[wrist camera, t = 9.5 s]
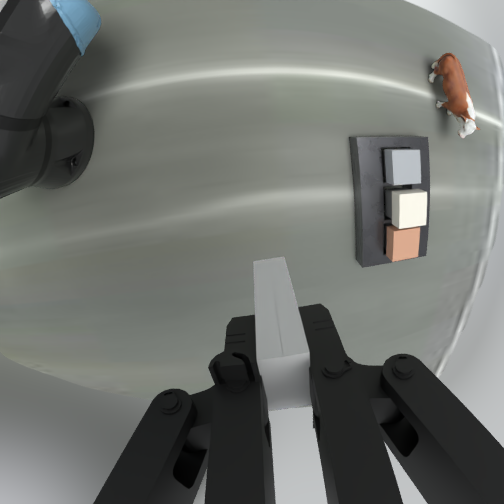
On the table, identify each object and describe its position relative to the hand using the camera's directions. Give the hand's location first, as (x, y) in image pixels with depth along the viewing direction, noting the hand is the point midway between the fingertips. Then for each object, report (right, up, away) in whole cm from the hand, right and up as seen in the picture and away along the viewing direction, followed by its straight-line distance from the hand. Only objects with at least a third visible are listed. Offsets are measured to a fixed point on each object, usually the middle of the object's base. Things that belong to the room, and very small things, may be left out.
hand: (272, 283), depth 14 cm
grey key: (+19, +15, +22) cm, 33 cm away
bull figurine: (+29, +27, +18) cm, 43 cm away
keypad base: (+20, +10, +24) cm, 33 cm away
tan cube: (+21, +5, +26) cm, 34 cm away
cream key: (+20, +9, +22) cm, 31 cm away
